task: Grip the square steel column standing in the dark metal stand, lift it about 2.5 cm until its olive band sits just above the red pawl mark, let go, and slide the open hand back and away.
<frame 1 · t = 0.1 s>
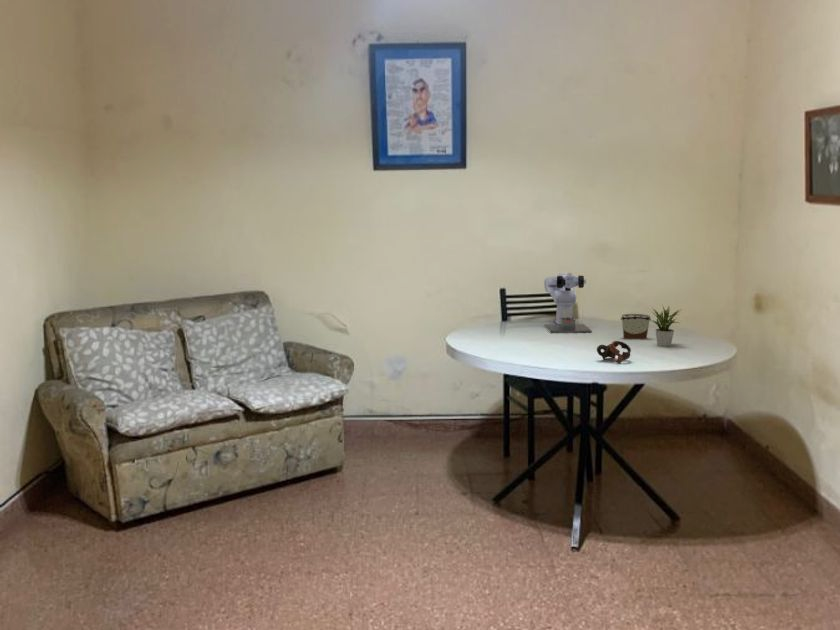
hand: (573, 282, 333), 22 cm above the table, tool horizontal, fingers open, 7 cm apart
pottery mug: (612, 361, 271), on the table
house plant: (666, 346, 297), on the table
lift column: (567, 317, 336), point 5 cm above the table, slide at 0.0 cm
food container: (633, 338, 315), on the table
stand base: (567, 329, 337), on the table
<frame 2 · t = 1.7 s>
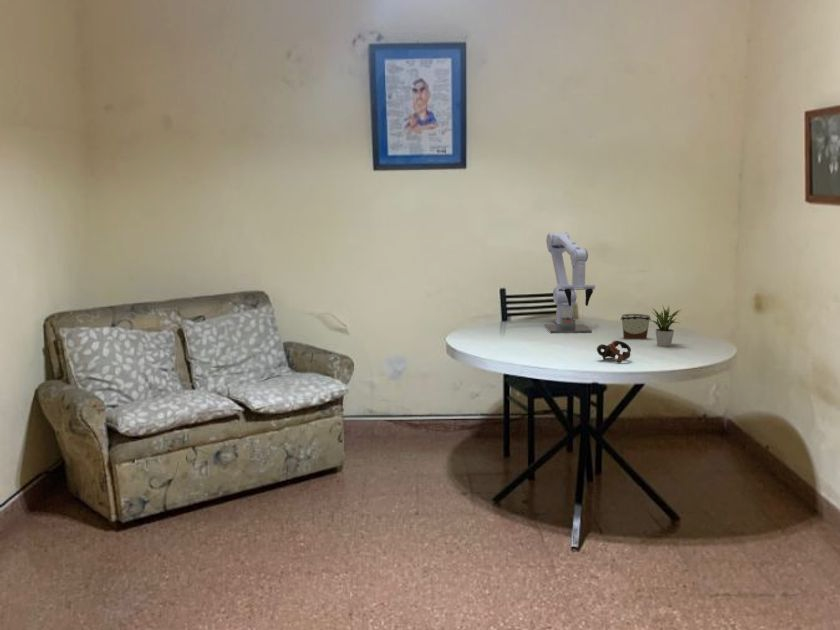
hand: (578, 305, 339), 10 cm above the table, tool pointing down, fingers open, 7 cm apart
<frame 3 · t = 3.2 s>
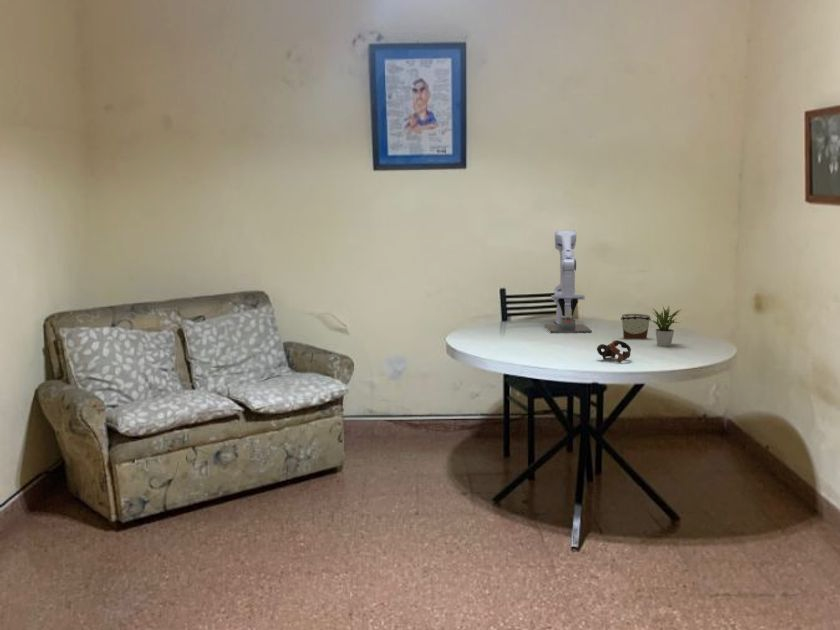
hand: (567, 315, 336), 6 cm above the table, tool pointing down, fingers closed on lift column, 3 cm apart
lift column: (567, 317, 336), point 5 cm above the table, slide at 0.0 cm, touching gripper
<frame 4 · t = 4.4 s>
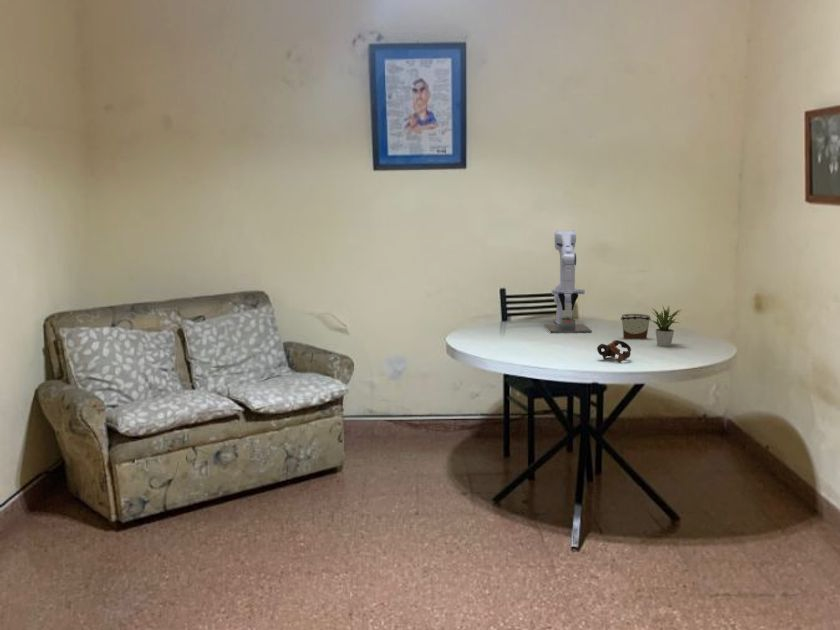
hand: (567, 310, 336), 9 cm above the table, tool pointing down, fingers closed on lift column, 3 cm apart
lift column: (567, 312, 336), point 8 cm above the table, slide at 2.3 cm, touching gripper
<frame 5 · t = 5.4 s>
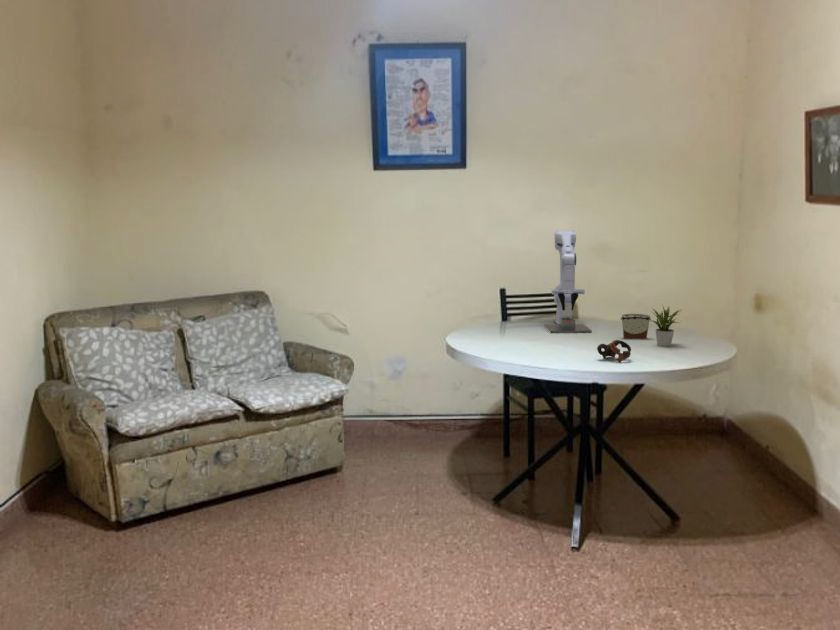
hand: (567, 310, 336), 9 cm above the table, tool pointing down, fingers open, 3 cm apart
lift column: (567, 312, 336), point 8 cm above the table, slide at 2.3 cm
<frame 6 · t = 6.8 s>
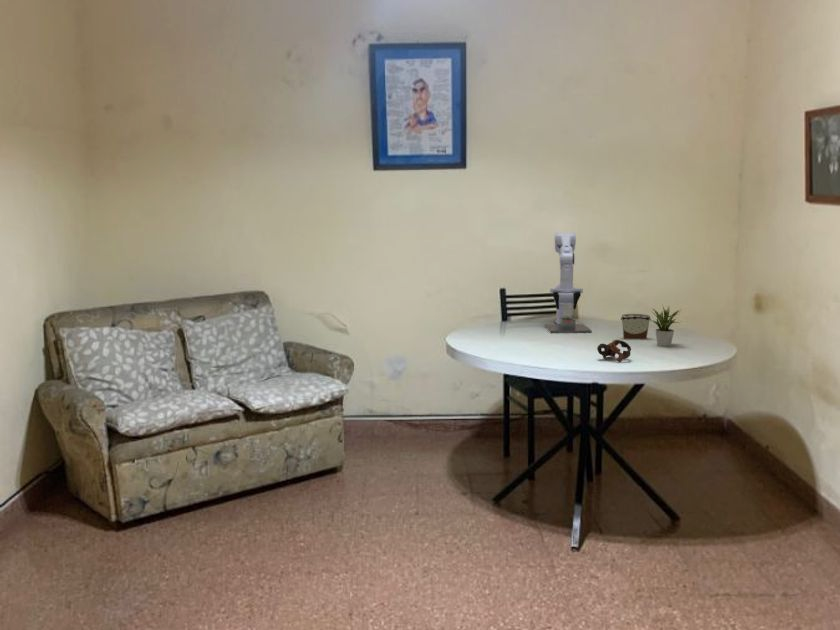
hand: (566, 308, 340), 9 cm above the table, tool pointing down, fingers open, 7 cm apart
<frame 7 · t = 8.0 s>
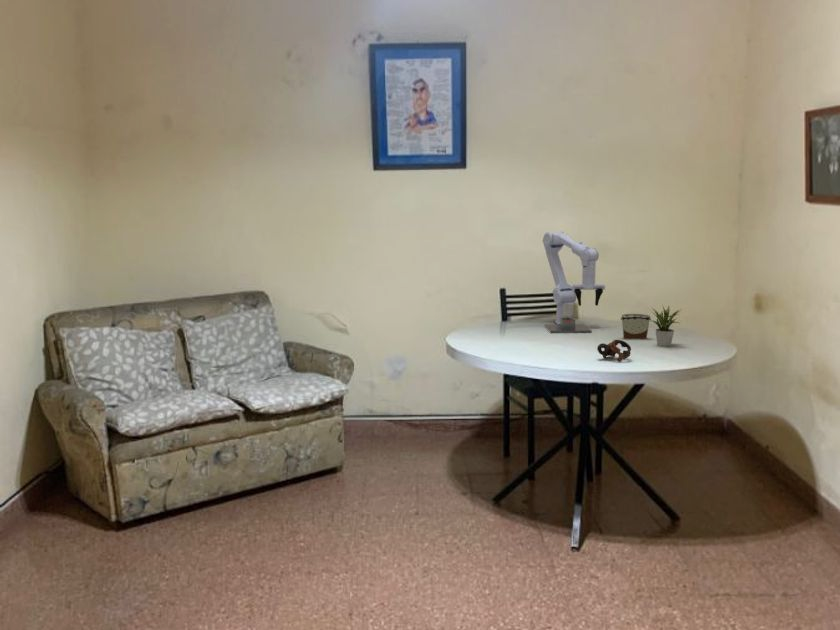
hand: (588, 305, 339), 10 cm above the table, tool pointing down, fingers open, 7 cm apart
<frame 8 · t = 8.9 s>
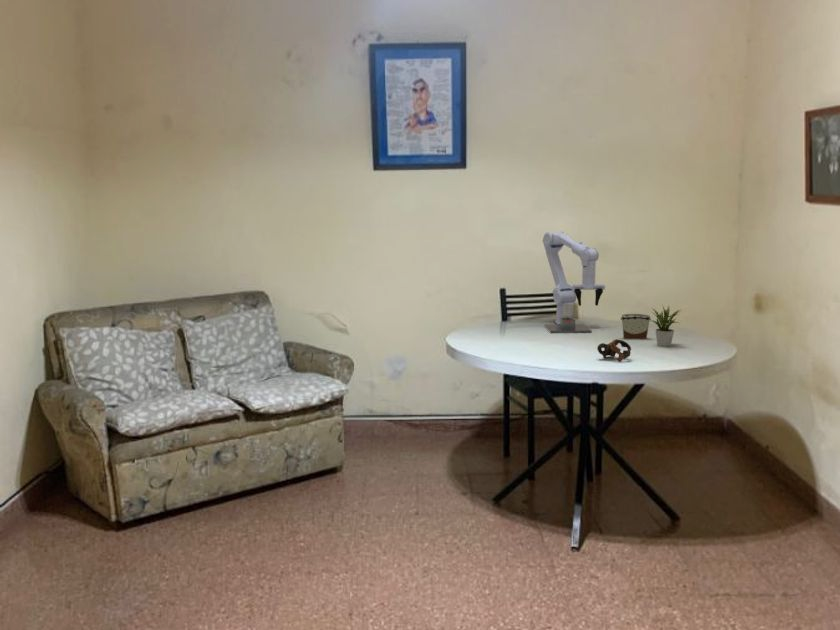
hand: (588, 305, 339), 10 cm above the table, tool pointing down, fingers open, 7 cm apart
at the end: lift column slide at 2.3 cm; the gripper is holding nothing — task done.
